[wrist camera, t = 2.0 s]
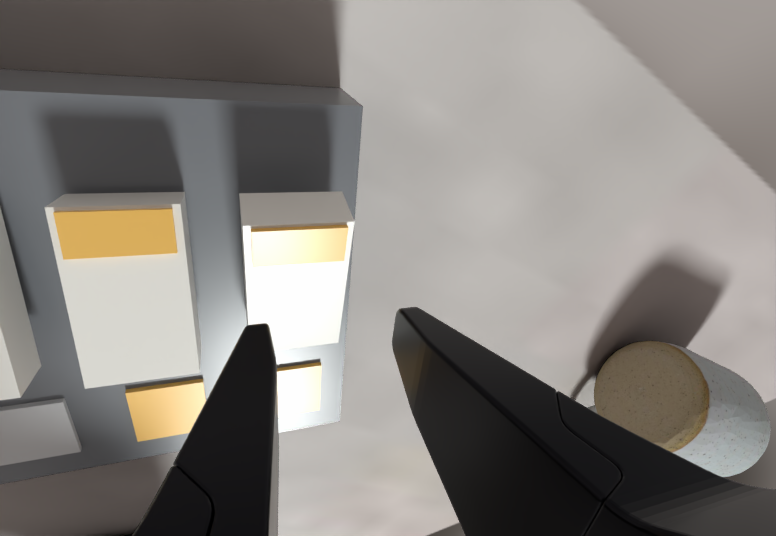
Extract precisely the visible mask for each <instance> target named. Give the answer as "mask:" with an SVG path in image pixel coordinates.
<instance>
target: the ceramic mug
mask: <svg viewBox="0 0 776 536" xmlns="http://www.w3.org/2000/svg"><path fill="white" fill-rule="evenodd" d="M594 401H595V405H594V406H591V407H588V409H590V410H592V411H594V412H595V413H597V414H599V415H601V416H602V417H604V418H606V419H608V420H610V421H612V422H614V423H616V424H618V425H619V426H621V427H623V428H625V429H627V430H629V431H631V432H633V433H635V434H637V435H639V436H641V437H643V438H645V439H647V440H648V441H650V442H652V443H654V444H656V445H658V446H660V447H662V448H664V449H666V450H668V451H670V452H672V453H674V454H676V455H678V456H680V457H682V458H684V459H686V460H688V461H690V462H692V463H694V464H696V465H698V466H700V467H702V468H704V469H706V470H708V471H710V472H712V473H714V474H716V475H718V476H721V477H726V476H732V475H735V474H739V473H741V472H743V471H745V470H747V469H748V468H750V467H751V466H752V465H754V464H755V463H756V462H757V461H758V459H759V458H760V457H761V455H762V454H763V453H764V451H765V450H766V448H767V445H768V442H769V439H770V429H771V426H770V419H769V416H768V412H767V409H766V407H765V404H764V402H763V401H762V399H761V397H760V395H759V394H758V392H757V391H756V390H755V389H754V388H753V386H752V385H751V384H749V383H748V382H747V381H746V380H745V379H743V378H742V377H741V376H739V375H738V374H736V373H735V372H733V371H731V370H729V369H727V368H725V367H723V366H721V365H719V364H717V363H715V362H713V361H711V360H709V359H707V358H704V357H702V356H700V355H698V354H696V353H694V352H692V351H690V350H688V349H686V348H684V347H681V346H678V345H675V344H670V343H666V342H658V341H642V342H635V343H632V344H629V345H627V346H625V347H623V348H621V349H619V350H617V351H616V352H615V353H613V354H612V355H611V356H610V357H609V358H608V359H607V360H606V362H605V363H604V365H603V366H602V368H601V369H600V371H599V373H598V376H597V379H596V382H595V388H594Z"/></svg>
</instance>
